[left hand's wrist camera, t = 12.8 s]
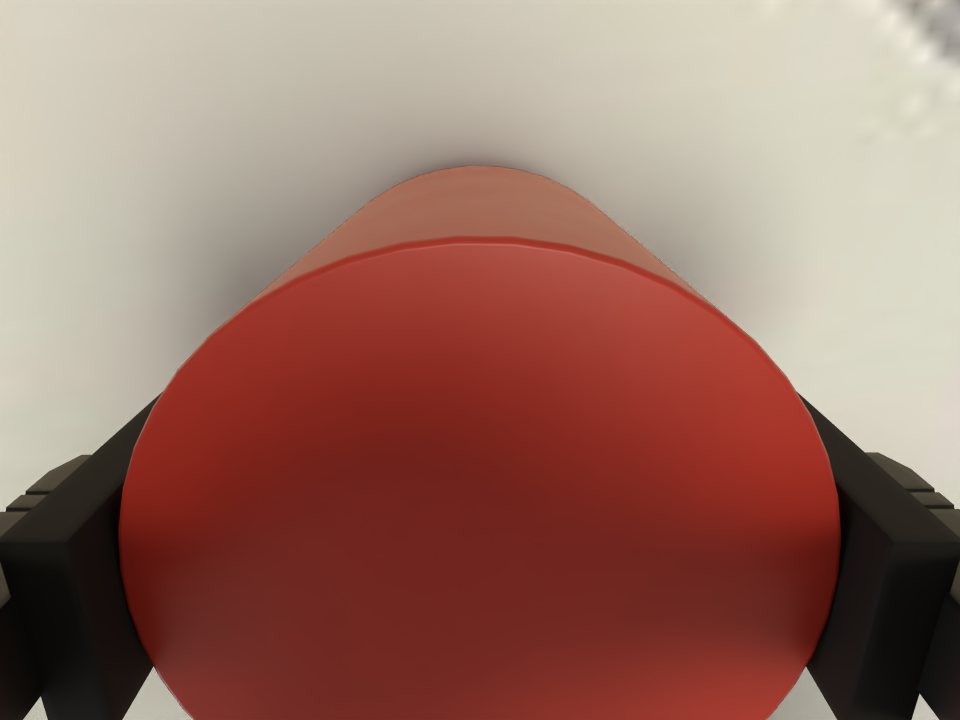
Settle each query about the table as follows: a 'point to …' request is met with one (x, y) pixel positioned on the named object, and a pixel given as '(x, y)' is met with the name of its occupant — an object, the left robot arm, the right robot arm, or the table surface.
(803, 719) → the table surface
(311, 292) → the canister
